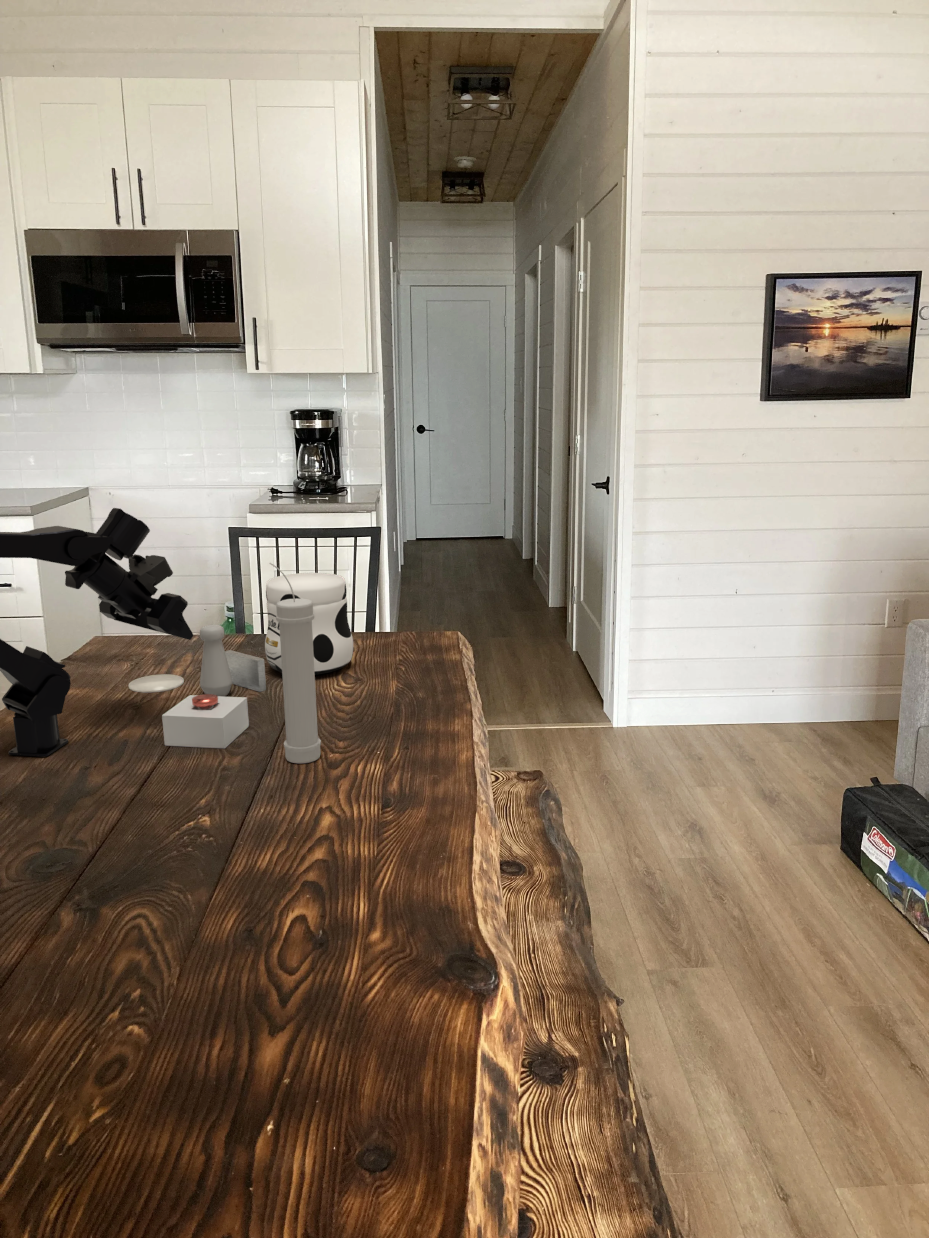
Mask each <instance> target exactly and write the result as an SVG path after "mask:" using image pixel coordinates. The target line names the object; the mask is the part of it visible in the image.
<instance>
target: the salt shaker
mask: <svg viewBox="0 0 929 1238" xmlns="http://www.w3.org/2000/svg"><path fill="white" fill-rule="evenodd" d="M224 637H225V628H224V627H223V626H222V625H220V624H207V625H204V626H202V627H201V628H200V629H199V638H200V640H202V641H203V647H202V649H203V650H202V657H201V658H202V659H201V669H200V677H199V686H200V689H201V690H202V691H203V693H204V694H214V695H217V696H223V697H227V695H229V693H230V691H231V688H232V685H233V684H232V681H233V680H232V676H231V672H230V669H229V665H228V661H227V658H226V654H225V647H224V643H223V640H222V639H223V638H224Z"/></svg>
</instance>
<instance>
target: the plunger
mask: <svg viewBox="0 0 929 1238" xmlns="http://www.w3.org/2000/svg"><path fill="white" fill-rule="evenodd" d="M217 703H218V696H217V695H214V694H205V693H204V694H199V695H198V696H195V697H193V698H192V705H193V706H196V707H198V710H212V709H213V705H215V704H217Z"/></svg>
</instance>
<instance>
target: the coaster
mask: <svg viewBox="0 0 929 1238" xmlns="http://www.w3.org/2000/svg"><path fill="white" fill-rule="evenodd" d="M184 681H185V680H184V678H183V677H182V676H181V675H177V674H166V673H165V674H164V673H163V674H152V675H145V676H142V677H137V678H136V679H133V680H132V681H130V682H128V689H129V690H130V691H133V692H137V693H159V692H160V693H161V692H166V691H170V690H174V689H177V688H179V687H181V686H182V685H183V684H184Z"/></svg>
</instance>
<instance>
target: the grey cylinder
mask: <svg viewBox="0 0 929 1238" xmlns="http://www.w3.org/2000/svg"><path fill="white" fill-rule="evenodd" d="M269 565H271V566H273V567H274V568H275V569H277V571H279V572H280V573H281V575H282V576H284V577H285V578H286V580H287V582H288V583H289V586H290V588H291V591H292V594H293V599H286V600H282V601H280V602H278V603H277V605H276V609H277V616H276V620H277V621H278V622H279V627H280V644H281V660H282V673H281V675H282V676H281V677H282V690H283V693H282V694H283V708H284V724H285V740H284V742H283V747H284V752H285V753H284V755H285V756H284V757H285V760H287V762H290V763H294V764H308V763H313V762H315V761H317V760H318V759H320V756H321V744H322V740H321V738H320V737H319V733H318V716H317V715H318V714H317V696H316V695H317V694H316V692H317V691H316V677H315V672H314V653H313V633H312V620H313V619H314V618H315V617H314V614H313V603H312V601H311V600H307V599H295V597H294V593H293V590H292V587H291V585H290V582H289V581H288V579H287V577H286V576H285V575H286V574H284V572H283V571H282V570H281V569H280V568H279V567H278V566H276V565H275V564H274V563H272V562H269Z"/></svg>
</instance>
